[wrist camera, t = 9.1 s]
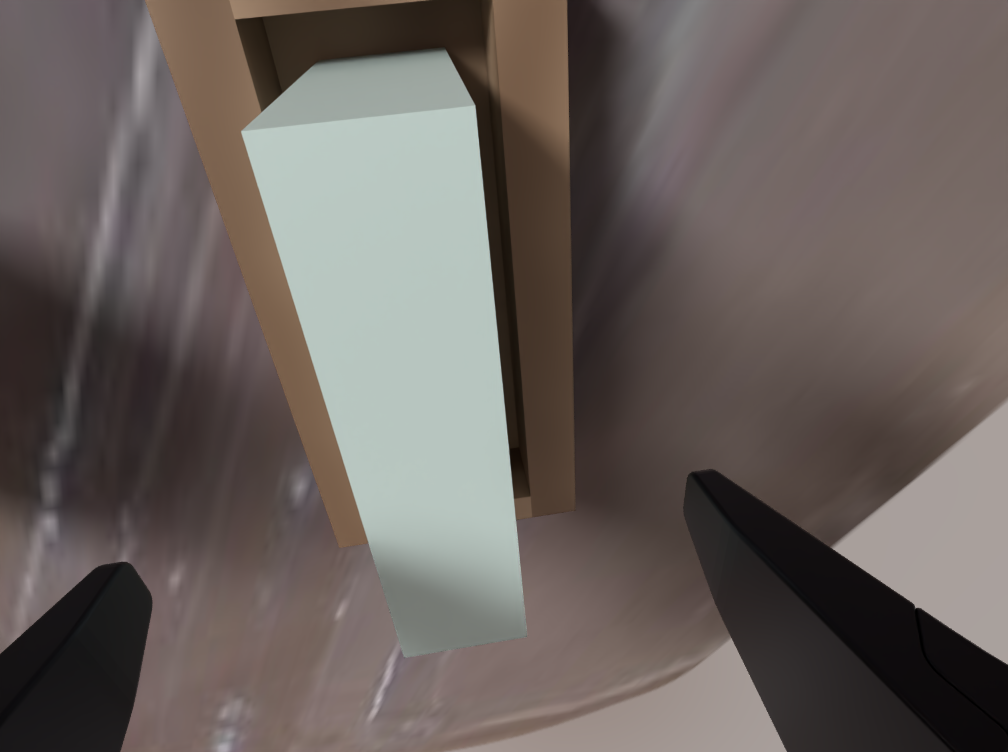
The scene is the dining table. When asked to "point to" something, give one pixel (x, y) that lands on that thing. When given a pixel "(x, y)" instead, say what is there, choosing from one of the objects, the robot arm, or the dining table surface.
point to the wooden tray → (506, 183)
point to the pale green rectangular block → (402, 328)
